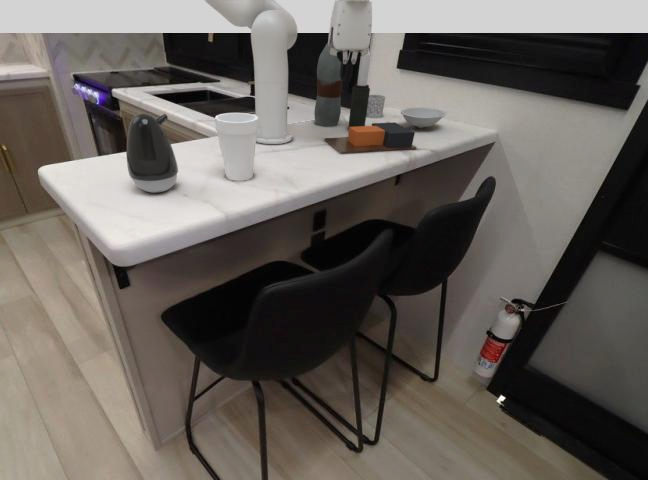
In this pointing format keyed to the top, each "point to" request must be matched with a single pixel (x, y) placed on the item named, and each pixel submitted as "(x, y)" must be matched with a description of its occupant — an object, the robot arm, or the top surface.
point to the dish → (422, 116)
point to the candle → (360, 95)
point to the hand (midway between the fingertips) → (345, 80)
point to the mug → (375, 106)
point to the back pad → (396, 135)
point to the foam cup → (237, 143)
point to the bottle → (328, 90)
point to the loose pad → (366, 135)
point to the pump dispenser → (150, 154)
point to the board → (346, 147)
